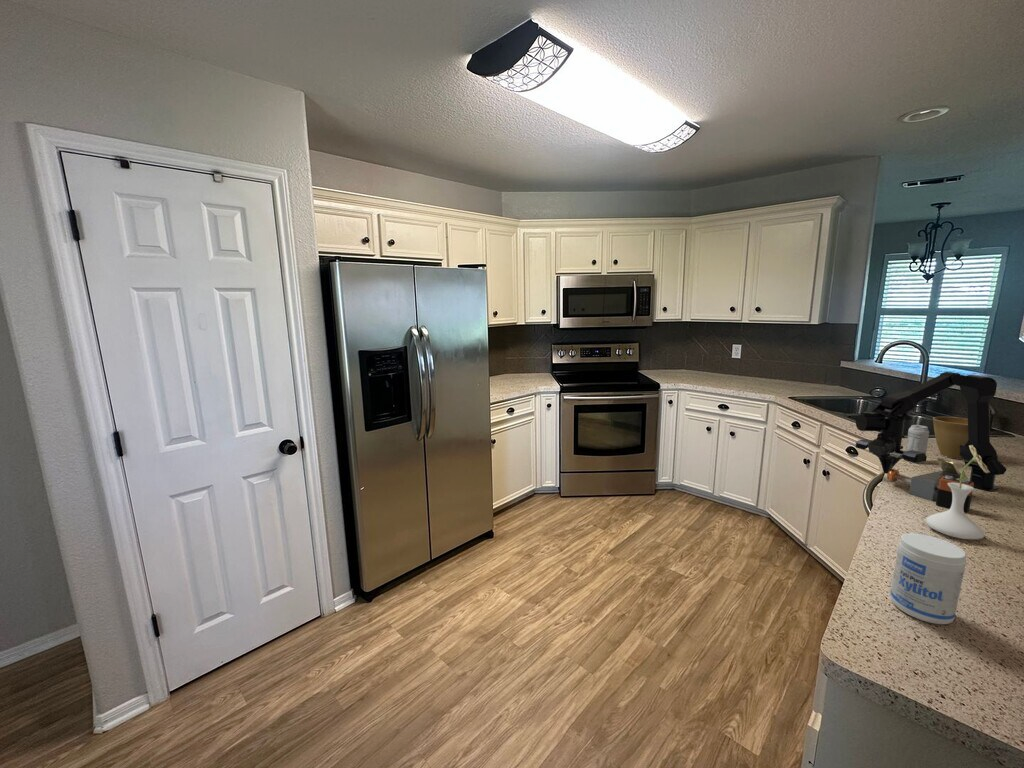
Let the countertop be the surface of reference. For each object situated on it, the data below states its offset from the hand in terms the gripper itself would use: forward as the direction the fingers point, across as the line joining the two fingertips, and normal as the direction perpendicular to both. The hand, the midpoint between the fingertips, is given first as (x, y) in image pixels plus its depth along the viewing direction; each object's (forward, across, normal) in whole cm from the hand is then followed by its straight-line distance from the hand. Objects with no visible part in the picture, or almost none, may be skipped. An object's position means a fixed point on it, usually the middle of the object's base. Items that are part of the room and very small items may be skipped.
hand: (886, 473), depth 148 cm
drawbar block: (+4, +12, +5) cm, 13 cm away
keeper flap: (-5, +12, +10) cm, 16 cm away
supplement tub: (+4, +45, -69) cm, 82 cm away
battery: (+4, +20, -3) cm, 21 cm away
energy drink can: (+4, -10, +37) cm, 38 cm away
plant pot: (+4, -8, +59) cm, 60 cm away
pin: (+2, +9, 0) cm, 9 cm away
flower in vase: (+4, +29, -22) cm, 37 cm away
